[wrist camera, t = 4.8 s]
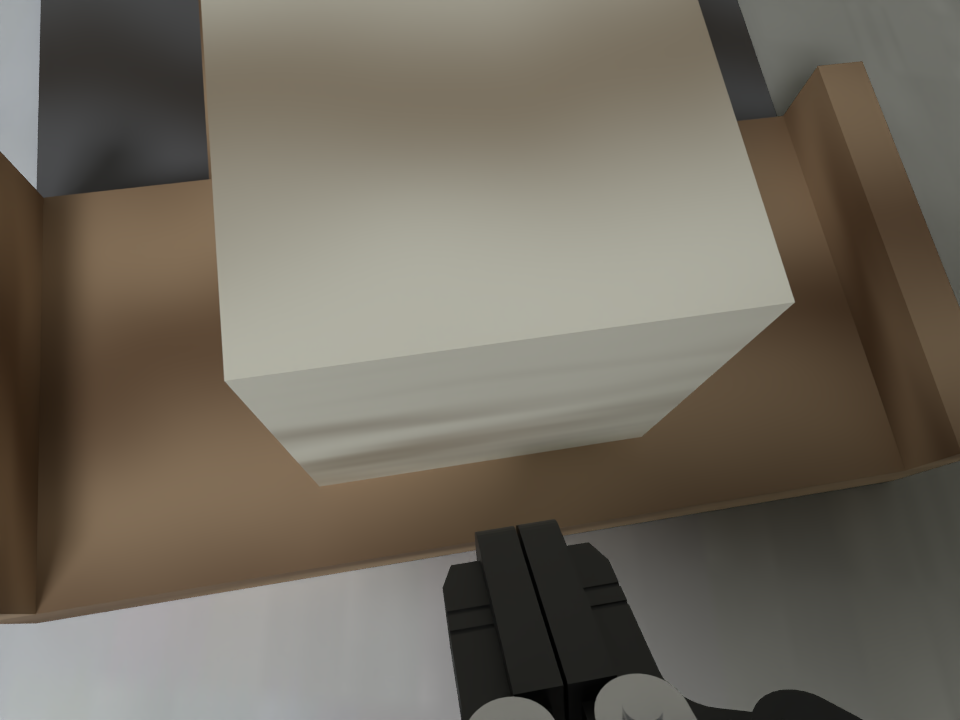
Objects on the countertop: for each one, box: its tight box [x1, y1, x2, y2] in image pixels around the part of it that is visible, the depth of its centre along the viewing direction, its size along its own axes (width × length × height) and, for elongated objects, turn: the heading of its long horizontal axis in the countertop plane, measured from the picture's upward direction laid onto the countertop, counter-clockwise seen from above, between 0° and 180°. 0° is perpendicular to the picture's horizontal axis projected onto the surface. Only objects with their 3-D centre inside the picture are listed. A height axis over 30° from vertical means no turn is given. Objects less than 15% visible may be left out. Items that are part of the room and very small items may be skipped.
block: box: [201, 0, 795, 487], centre depth 15 cm, size 8×8×8 cm
